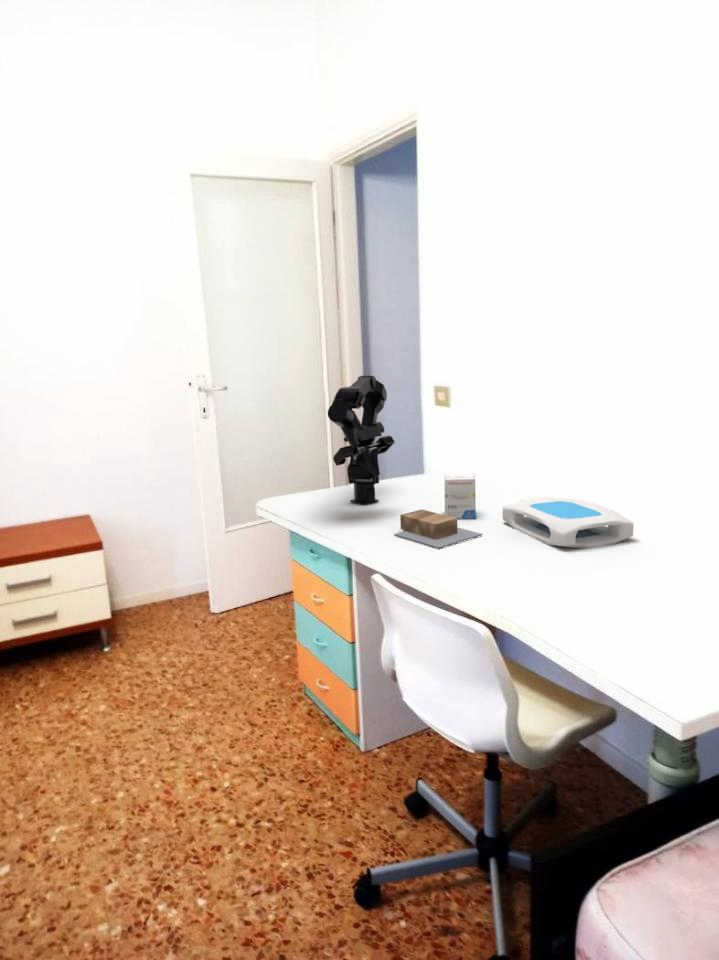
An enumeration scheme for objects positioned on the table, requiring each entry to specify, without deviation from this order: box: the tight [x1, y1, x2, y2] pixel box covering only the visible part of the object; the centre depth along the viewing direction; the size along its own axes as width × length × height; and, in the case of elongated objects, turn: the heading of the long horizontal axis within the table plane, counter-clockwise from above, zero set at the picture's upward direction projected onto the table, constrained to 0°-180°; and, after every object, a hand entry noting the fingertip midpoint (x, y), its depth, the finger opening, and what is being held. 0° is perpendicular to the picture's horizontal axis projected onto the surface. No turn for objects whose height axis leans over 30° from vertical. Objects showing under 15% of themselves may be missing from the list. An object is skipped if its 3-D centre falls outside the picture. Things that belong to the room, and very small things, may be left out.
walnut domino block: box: [399, 509, 458, 540], centre depth 182 cm, size 4×8×13 cm
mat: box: [394, 526, 484, 550], centre depth 179 cm, size 16×16×1 cm
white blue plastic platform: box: [502, 496, 634, 549], centre depth 179 cm, size 21×28×6 cm
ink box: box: [444, 472, 477, 520], centre depth 197 cm, size 9×8×12 cm
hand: (378, 475), depth 193 cm, fingers closed
